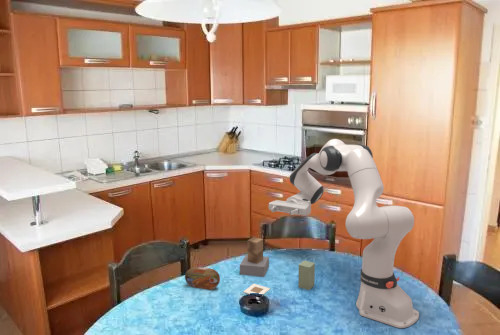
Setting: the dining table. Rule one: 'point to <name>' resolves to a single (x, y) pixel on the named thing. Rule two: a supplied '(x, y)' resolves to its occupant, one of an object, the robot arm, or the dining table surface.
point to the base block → (254, 267)
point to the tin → (202, 278)
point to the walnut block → (255, 250)
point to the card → (256, 289)
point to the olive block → (306, 275)
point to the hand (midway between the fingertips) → (281, 211)
